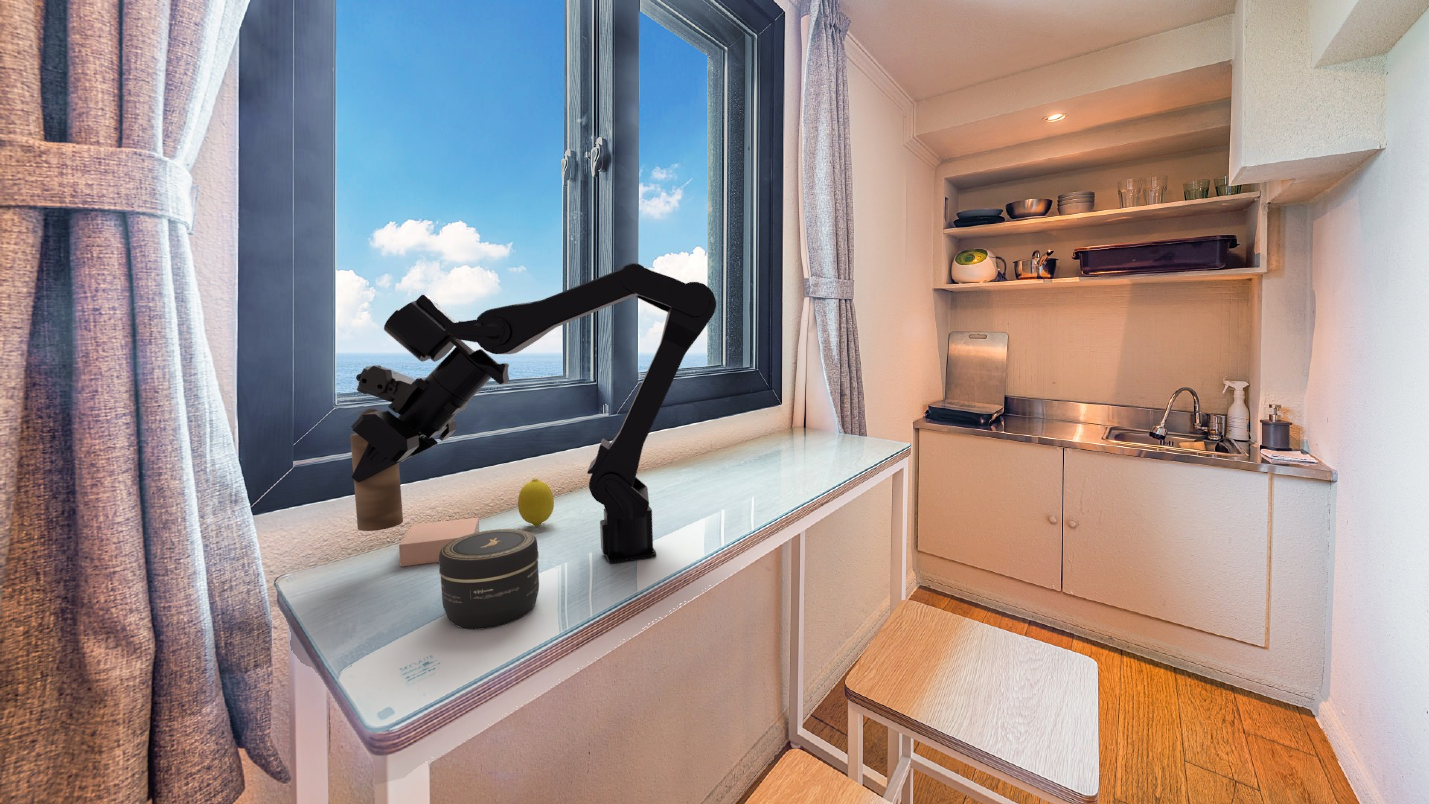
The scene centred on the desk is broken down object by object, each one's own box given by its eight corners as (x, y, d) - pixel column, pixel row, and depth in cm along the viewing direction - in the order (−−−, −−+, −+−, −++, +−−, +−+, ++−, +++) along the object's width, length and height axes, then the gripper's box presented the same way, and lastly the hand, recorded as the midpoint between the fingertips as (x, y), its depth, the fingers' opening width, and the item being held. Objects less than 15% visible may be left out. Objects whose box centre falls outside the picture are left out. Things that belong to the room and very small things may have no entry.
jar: (539, 584, 65) (536, 523, 64) (543, 622, 55) (539, 551, 55) (448, 598, 61) (444, 534, 61) (436, 641, 52) (431, 566, 51)
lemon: (560, 521, 89) (558, 474, 88) (546, 532, 83) (544, 483, 82) (528, 521, 89) (526, 474, 89) (513, 532, 84) (510, 482, 83)
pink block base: (479, 536, 82) (478, 517, 82) (474, 557, 74) (472, 536, 73) (414, 544, 79) (412, 524, 79) (400, 566, 71) (398, 544, 70)
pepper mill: (406, 517, 72) (398, 405, 71) (398, 528, 67) (389, 409, 66) (364, 521, 70) (355, 407, 69) (352, 533, 66) (342, 411, 64)
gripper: (427, 344, 76) (350, 424, 76) (363, 341, 58) (261, 446, 57) (488, 396, 78) (414, 474, 78) (445, 409, 60) (348, 511, 59)
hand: (365, 475), depth 68 cm, fingers closed on pepper mill, 5 cm apart
